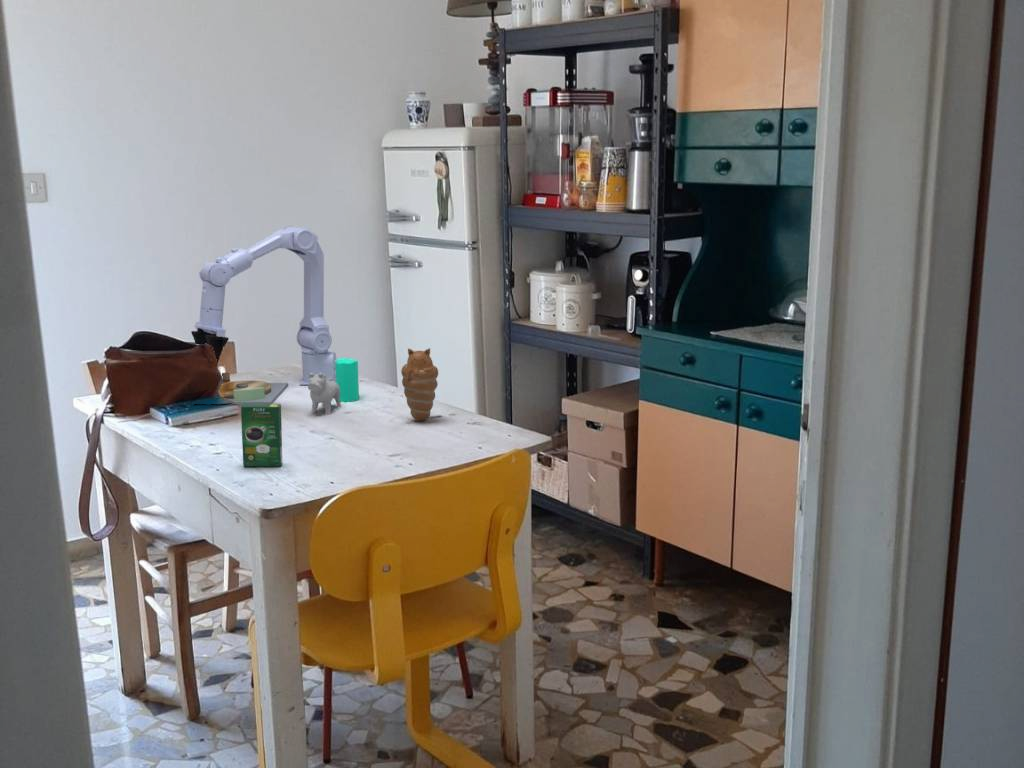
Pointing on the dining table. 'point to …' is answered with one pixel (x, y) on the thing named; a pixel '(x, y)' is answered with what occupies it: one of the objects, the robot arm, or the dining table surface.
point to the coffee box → (261, 435)
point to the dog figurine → (323, 392)
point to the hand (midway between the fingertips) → (207, 360)
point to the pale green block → (249, 394)
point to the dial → (240, 386)
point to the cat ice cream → (419, 383)
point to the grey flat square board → (266, 395)
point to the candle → (347, 379)
